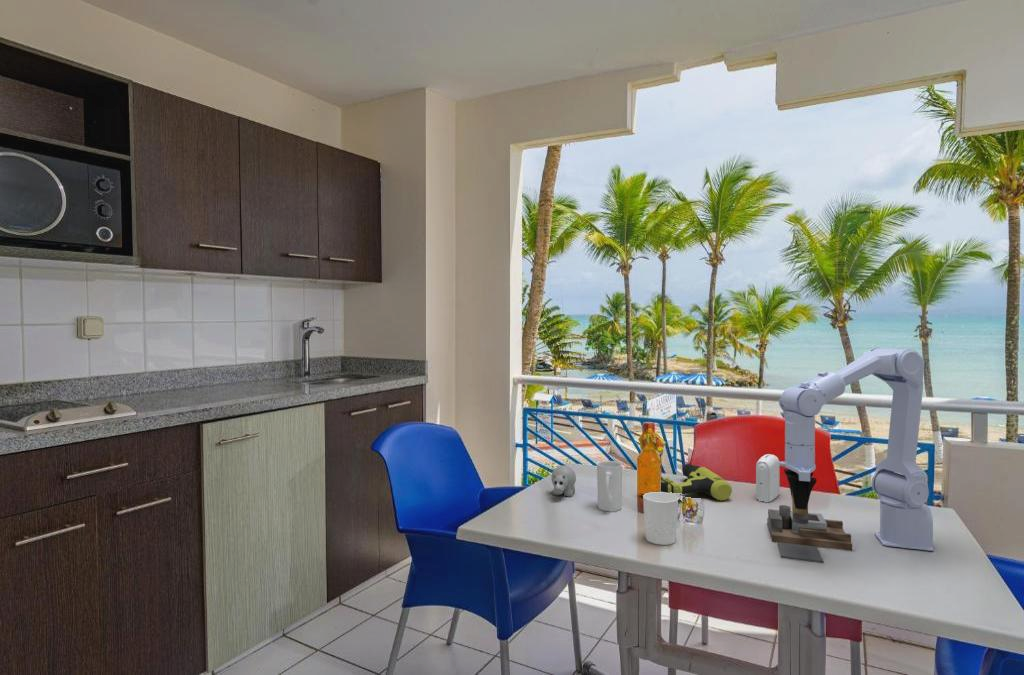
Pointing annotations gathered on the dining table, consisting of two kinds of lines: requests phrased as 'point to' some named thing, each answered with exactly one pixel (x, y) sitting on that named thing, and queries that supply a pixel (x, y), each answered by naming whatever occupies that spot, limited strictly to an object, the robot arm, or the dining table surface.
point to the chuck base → (806, 532)
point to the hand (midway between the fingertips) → (799, 505)
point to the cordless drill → (698, 483)
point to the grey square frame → (809, 523)
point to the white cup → (660, 517)
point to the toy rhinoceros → (563, 481)
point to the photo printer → (767, 478)
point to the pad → (799, 552)
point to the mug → (609, 485)
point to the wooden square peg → (799, 514)
